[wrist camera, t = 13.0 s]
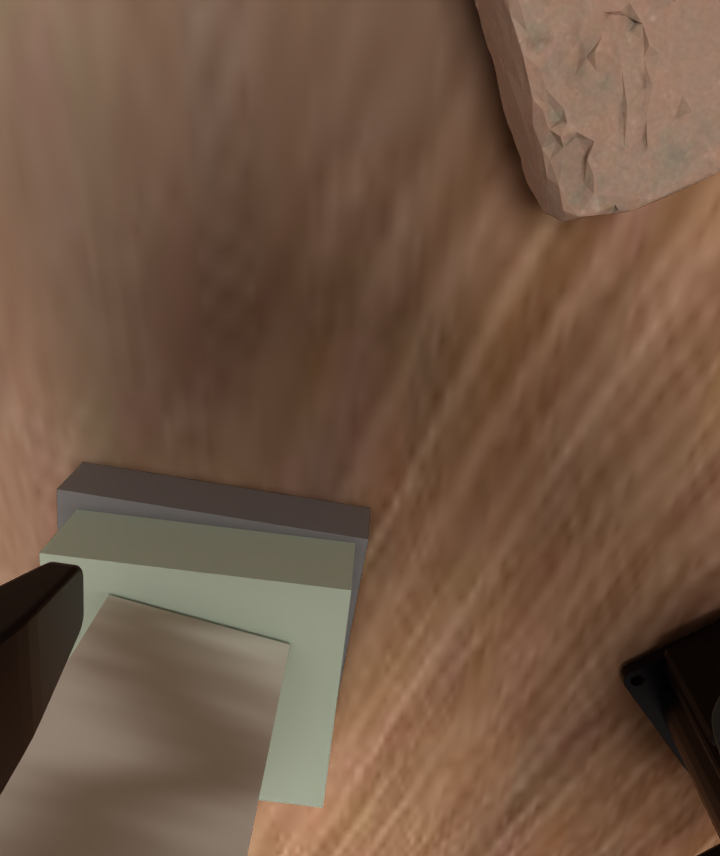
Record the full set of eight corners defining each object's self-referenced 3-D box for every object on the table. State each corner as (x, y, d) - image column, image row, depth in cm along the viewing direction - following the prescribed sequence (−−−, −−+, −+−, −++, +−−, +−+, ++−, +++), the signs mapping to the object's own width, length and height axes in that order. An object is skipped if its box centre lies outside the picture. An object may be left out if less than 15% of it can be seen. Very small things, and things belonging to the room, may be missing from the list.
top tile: (355, 542, 22) (351, 590, 19) (329, 747, 25) (322, 807, 23) (76, 509, 22) (38, 553, 19) (89, 718, 25) (59, 776, 23)
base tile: (370, 500, 24) (368, 539, 22) (330, 710, 28) (325, 762, 25) (89, 455, 24) (56, 489, 21) (89, 672, 28) (61, 721, 25)
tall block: (290, 644, 20) (202, 1074, 11) (247, 767, 22) (144, 1211, 13) (108, 594, 20) (-141, 999, 10) (83, 725, 22) (-141, 1154, 13)
